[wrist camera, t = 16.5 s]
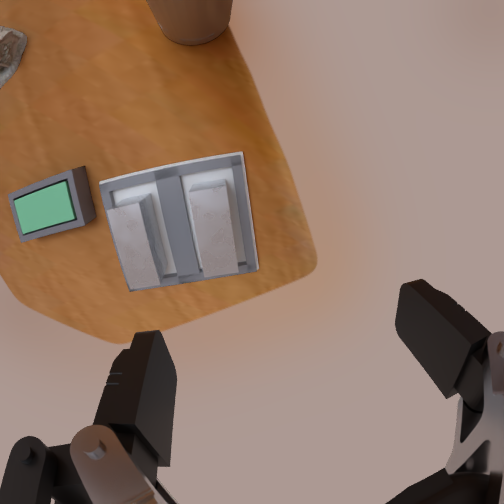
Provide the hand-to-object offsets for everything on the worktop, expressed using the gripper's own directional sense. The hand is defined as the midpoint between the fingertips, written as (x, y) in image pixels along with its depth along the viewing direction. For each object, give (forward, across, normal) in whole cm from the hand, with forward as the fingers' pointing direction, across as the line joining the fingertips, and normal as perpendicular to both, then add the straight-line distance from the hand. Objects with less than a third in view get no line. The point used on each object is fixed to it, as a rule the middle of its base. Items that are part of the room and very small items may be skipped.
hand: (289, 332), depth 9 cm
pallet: (+30, +8, +4) cm, 31 cm away
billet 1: (+29, +13, +4) cm, 32 cm away
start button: (+27, +26, -3) cm, 38 cm away
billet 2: (+29, +3, +4) cm, 29 cm away
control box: (+30, +26, -3) cm, 40 cm away
